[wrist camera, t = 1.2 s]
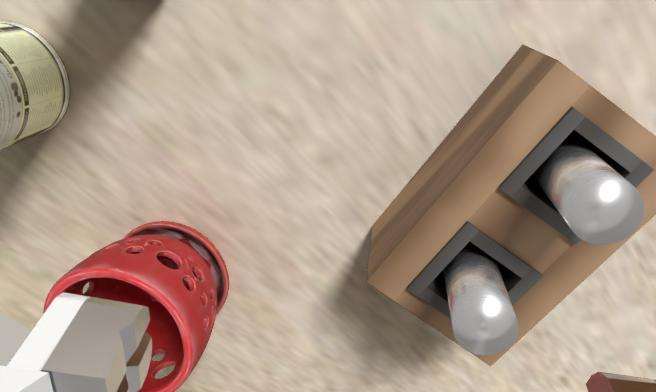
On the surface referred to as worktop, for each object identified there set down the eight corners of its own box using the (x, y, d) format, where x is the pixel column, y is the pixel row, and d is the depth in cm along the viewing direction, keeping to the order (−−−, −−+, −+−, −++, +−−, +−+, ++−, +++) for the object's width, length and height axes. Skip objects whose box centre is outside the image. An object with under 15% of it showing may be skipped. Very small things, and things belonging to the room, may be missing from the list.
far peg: (503, 251, 42) (532, 325, 33) (469, 286, 43) (488, 365, 34) (463, 223, 42) (482, 290, 32) (430, 259, 43) (439, 332, 34)
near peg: (598, 154, 38) (661, 206, 29) (558, 195, 40) (606, 257, 31) (555, 122, 38) (606, 165, 29) (516, 164, 39) (552, 218, 30)
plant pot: (173, 183, 50) (110, 238, 39) (263, 283, 53) (228, 361, 42) (86, 253, 54) (6, 322, 43) (173, 343, 57) (120, 428, 46)
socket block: (636, 132, 43) (704, 174, 34) (473, 297, 51) (491, 369, 41) (522, 44, 42) (560, 61, 32) (372, 226, 49) (366, 284, 40)
